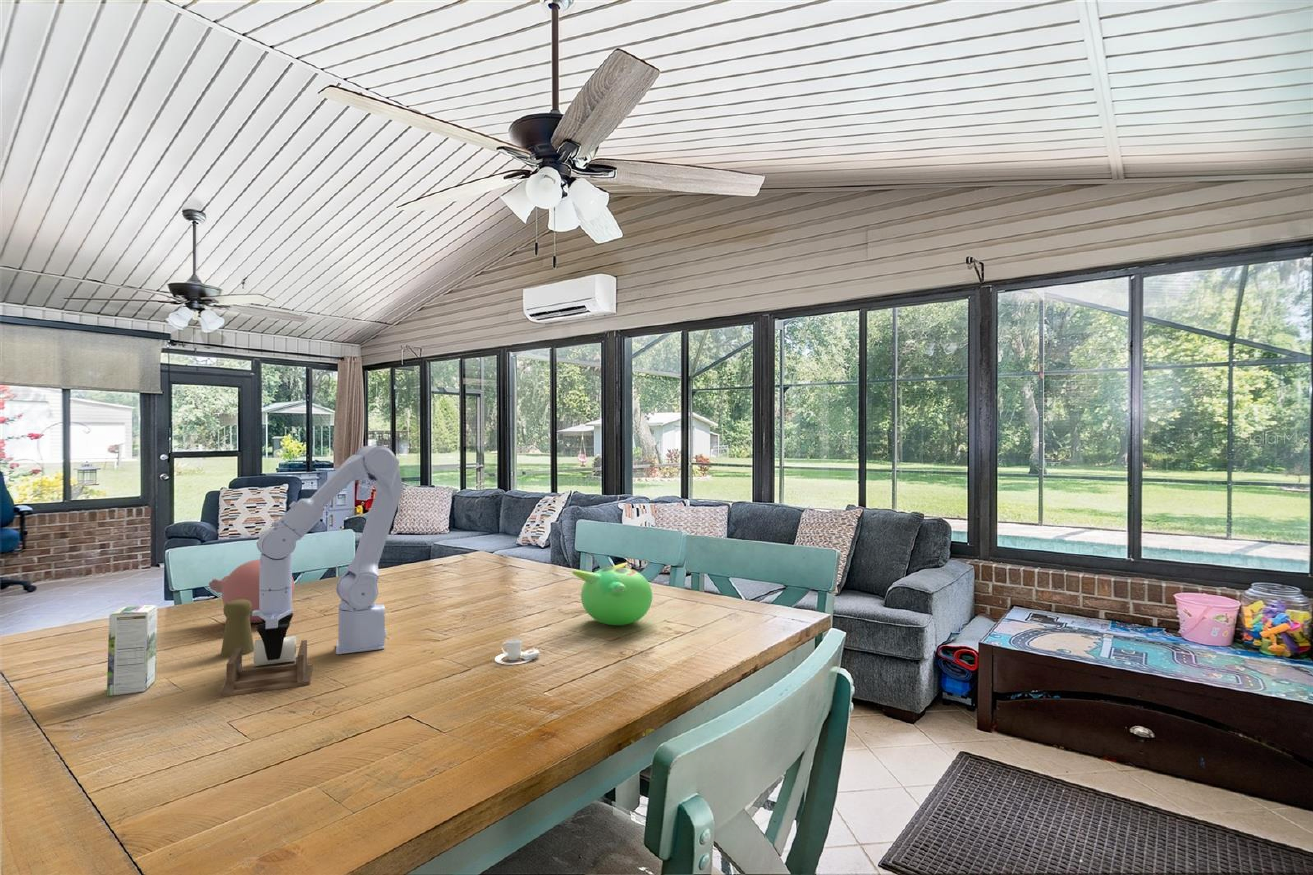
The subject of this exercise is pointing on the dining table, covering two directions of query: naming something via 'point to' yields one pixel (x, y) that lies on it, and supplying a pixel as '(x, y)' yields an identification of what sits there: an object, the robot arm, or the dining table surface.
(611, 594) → the toy bird
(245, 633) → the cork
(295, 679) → the holder
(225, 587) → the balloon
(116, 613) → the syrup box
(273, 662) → the roll
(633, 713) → the dining table surface
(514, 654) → the teacup and saucer
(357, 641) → the robot arm
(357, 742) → the dining table surface
